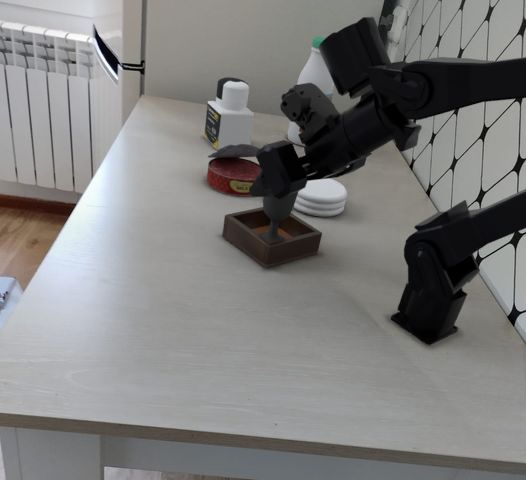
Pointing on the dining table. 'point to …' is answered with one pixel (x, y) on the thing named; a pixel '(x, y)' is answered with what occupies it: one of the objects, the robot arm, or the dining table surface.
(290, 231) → the brown wooden square box
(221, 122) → the medicine bottle
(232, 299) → the dining table surface
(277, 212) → the sundae
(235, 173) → the canned food
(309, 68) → the milk bottle
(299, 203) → the coaster
